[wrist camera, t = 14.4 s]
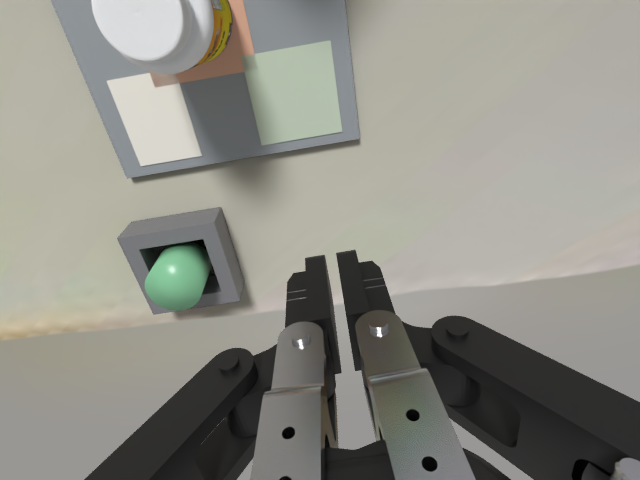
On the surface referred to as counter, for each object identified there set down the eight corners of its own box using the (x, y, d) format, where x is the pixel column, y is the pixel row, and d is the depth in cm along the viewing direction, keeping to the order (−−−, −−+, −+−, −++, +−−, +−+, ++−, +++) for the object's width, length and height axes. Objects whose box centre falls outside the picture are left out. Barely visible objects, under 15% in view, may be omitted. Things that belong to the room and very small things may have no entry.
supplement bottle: (184, 78, 28) (129, 102, 19) (132, -4, 25) (39, -20, 16) (251, 37, 27) (226, 43, 18) (203, -52, 24) (146, -99, 15)
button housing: (220, 206, 33) (214, 222, 31) (244, 281, 37) (239, 301, 35) (131, 222, 34) (117, 238, 31) (163, 294, 37) (153, 314, 35)
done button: (203, 236, 33) (191, 261, 29) (217, 278, 35) (208, 306, 32) (153, 244, 33) (135, 270, 30) (170, 285, 35) (156, 314, 32)
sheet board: (325, -173, 22) (325, -179, 22) (358, 136, 31) (360, 139, 30) (9, -109, 23) (1, -113, 22) (129, 175, 32) (126, 178, 31)
